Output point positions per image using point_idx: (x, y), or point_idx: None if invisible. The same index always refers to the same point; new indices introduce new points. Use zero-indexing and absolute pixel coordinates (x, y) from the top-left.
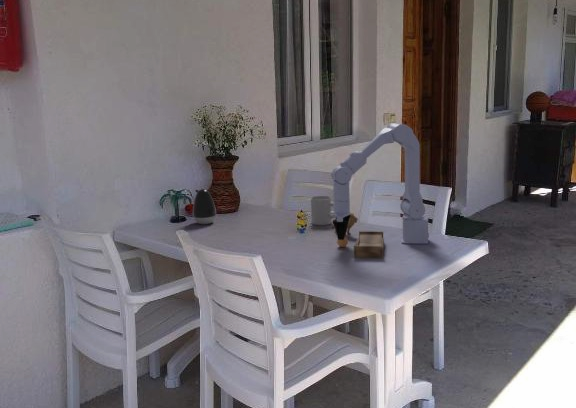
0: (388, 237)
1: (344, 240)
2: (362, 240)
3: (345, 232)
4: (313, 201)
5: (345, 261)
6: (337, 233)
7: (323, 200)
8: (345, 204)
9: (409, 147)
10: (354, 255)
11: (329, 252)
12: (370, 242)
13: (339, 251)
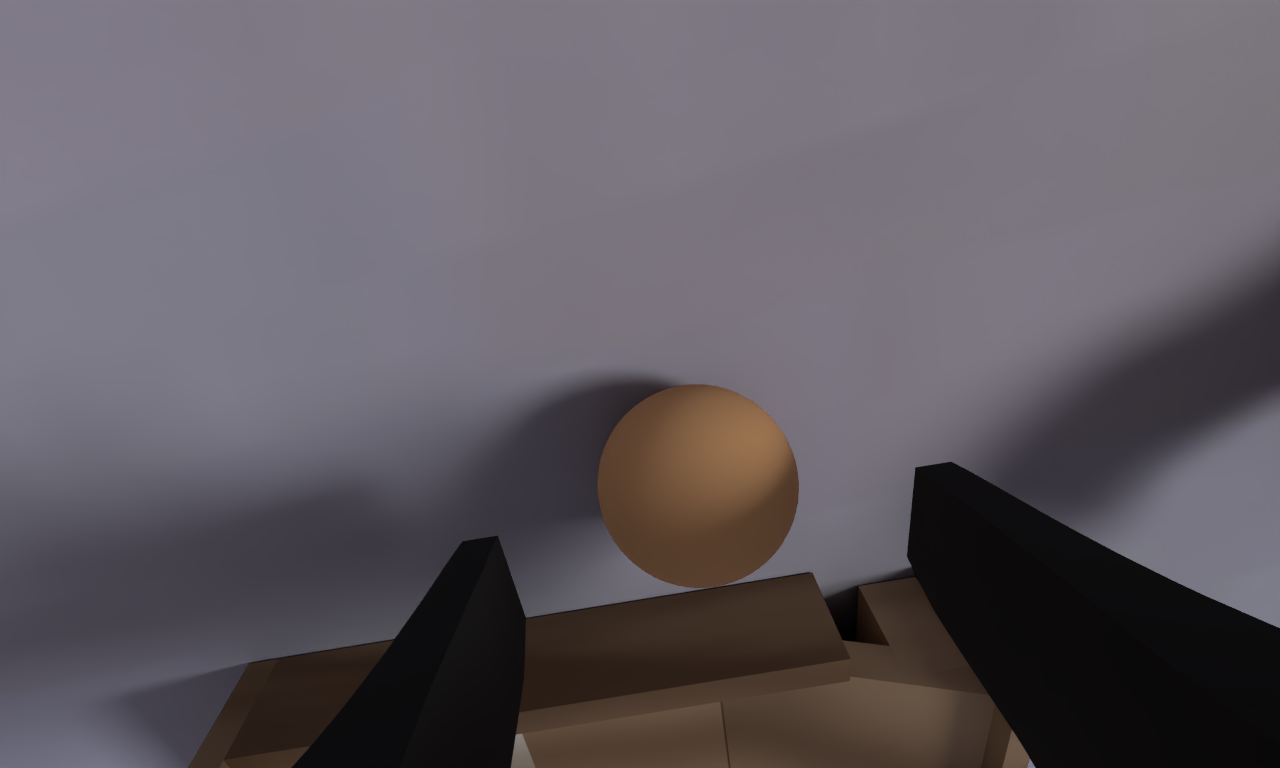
0: None
1: (629, 558)
2: (782, 695)
3: (924, 576)
4: None
5: (25, 627)
6: (395, 660)
7: None
8: None
9: None
10: (238, 689)
11: (309, 325)
12: (741, 754)
13: (430, 451)
